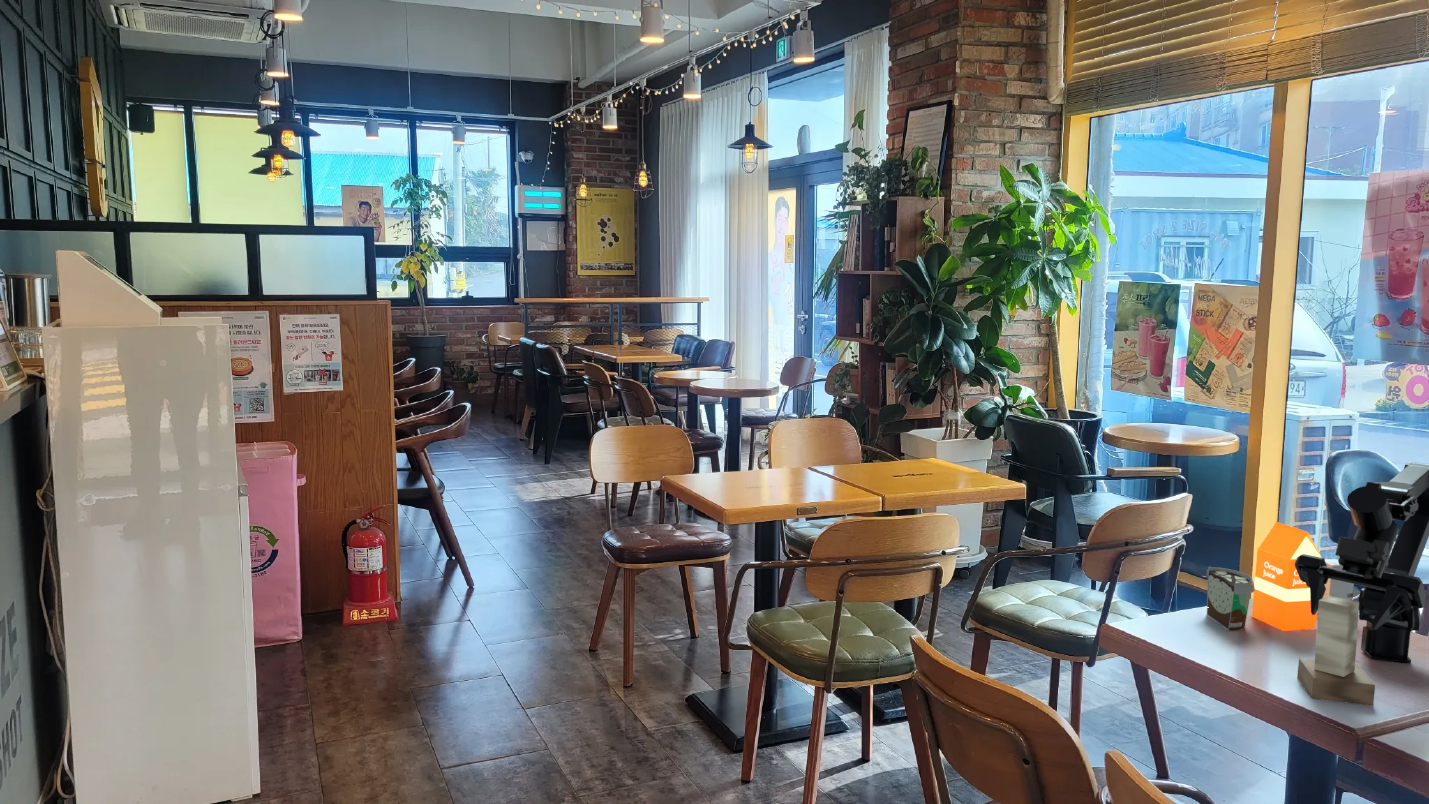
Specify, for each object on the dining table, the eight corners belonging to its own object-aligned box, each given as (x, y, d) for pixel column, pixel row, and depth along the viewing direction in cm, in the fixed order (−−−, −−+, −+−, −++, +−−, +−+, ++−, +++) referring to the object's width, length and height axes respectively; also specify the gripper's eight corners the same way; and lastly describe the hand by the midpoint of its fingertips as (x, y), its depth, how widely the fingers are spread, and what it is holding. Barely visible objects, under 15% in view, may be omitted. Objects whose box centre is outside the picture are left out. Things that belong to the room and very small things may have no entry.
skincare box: (1327, 623, 204) (1332, 565, 203) (1309, 615, 208) (1314, 559, 207) (1352, 621, 205) (1357, 563, 204) (1334, 614, 210) (1339, 557, 208)
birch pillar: (1325, 663, 173) (1330, 595, 172) (1354, 671, 169) (1359, 601, 168) (1314, 669, 170) (1318, 600, 169) (1343, 677, 167) (1348, 606, 166)
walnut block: (1355, 686, 173) (1357, 664, 173) (1372, 708, 165) (1375, 684, 164) (1297, 680, 176) (1299, 658, 175) (1311, 700, 167) (1313, 677, 167)
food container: (1263, 634, 197) (1268, 585, 196) (1232, 633, 197) (1236, 584, 196) (1233, 613, 210) (1236, 566, 208) (1203, 612, 210) (1207, 566, 208)
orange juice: (1283, 631, 199) (1291, 533, 197) (1250, 616, 208) (1258, 522, 205) (1316, 628, 201) (1325, 531, 198) (1283, 614, 209) (1291, 520, 207)
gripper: (1303, 509, 177) (1272, 581, 172) (1427, 530, 163) (1398, 610, 158) (1316, 544, 183) (1287, 615, 178) (1437, 568, 169) (1409, 646, 164)
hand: (1342, 621), depth 169 cm, fingers open, 9 cm apart
